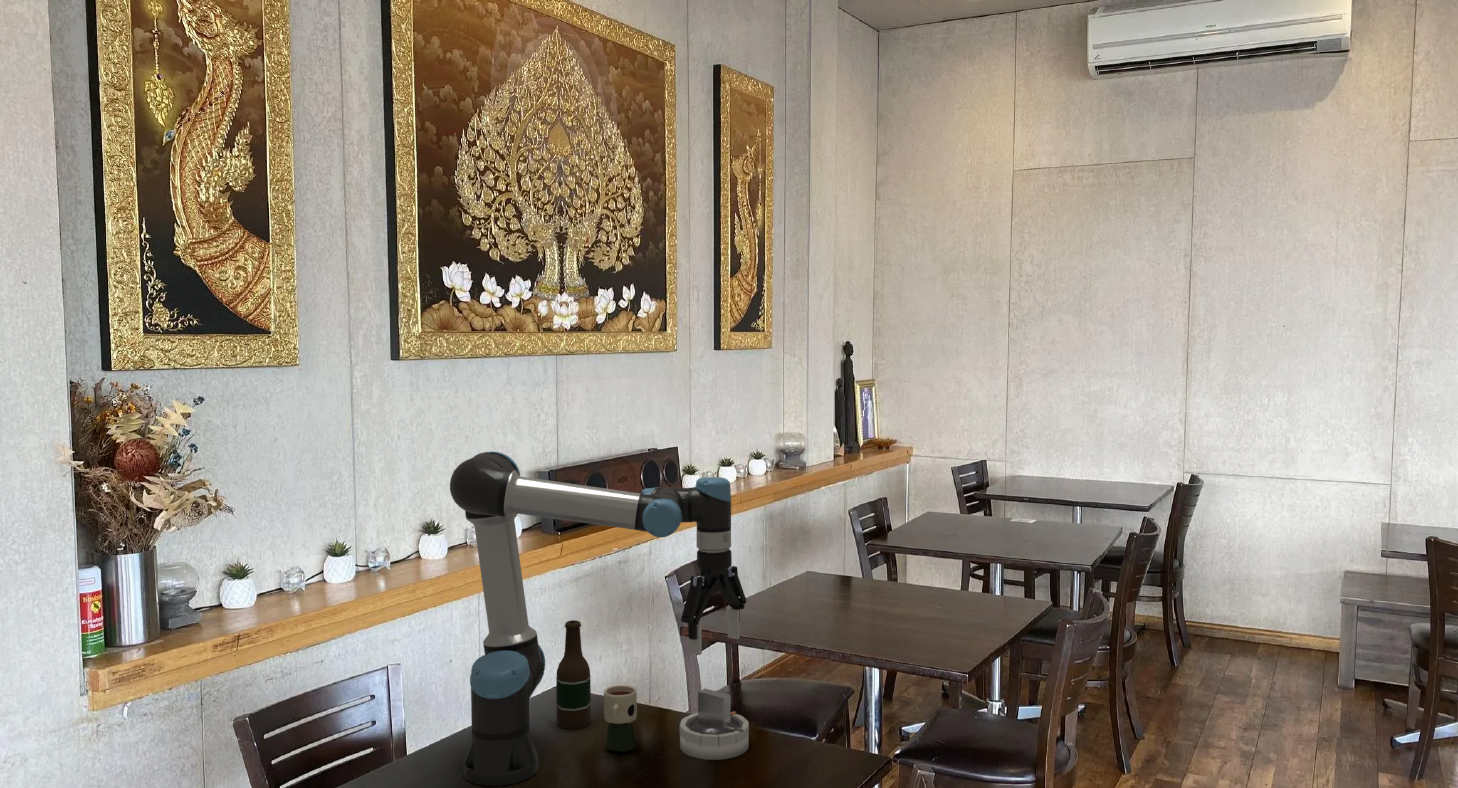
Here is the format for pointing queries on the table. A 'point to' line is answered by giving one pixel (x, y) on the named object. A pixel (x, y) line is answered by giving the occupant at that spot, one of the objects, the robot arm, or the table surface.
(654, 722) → the table surface
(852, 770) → the table surface
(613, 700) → the character mug
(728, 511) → the robot arm
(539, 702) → the table surface
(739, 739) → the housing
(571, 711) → the beer bottle
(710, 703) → the dial
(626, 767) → the table surface
